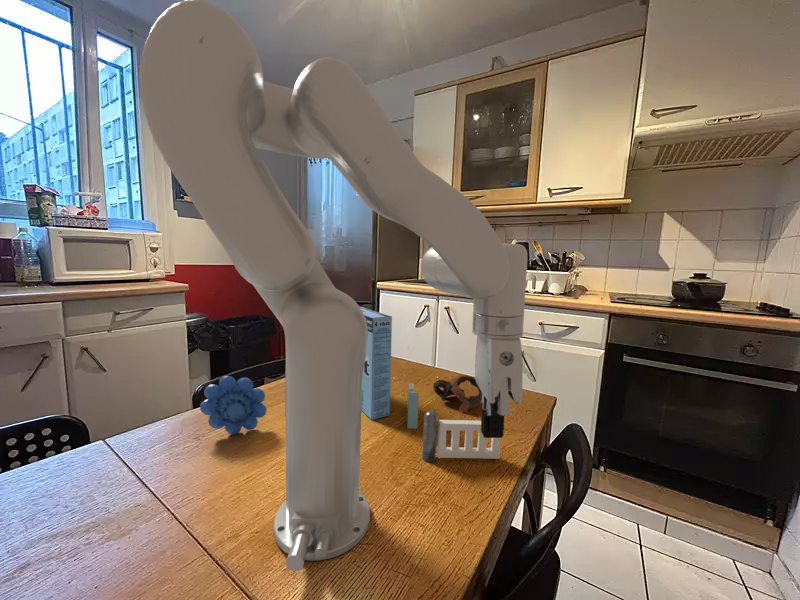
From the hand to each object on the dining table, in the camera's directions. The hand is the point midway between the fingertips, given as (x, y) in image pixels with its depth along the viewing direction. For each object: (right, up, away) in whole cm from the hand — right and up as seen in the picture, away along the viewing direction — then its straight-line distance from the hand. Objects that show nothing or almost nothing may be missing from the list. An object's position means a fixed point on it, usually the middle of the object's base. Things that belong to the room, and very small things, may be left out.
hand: (491, 434), depth 55 cm
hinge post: (-10, -7, +6) cm, 13 cm away
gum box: (-24, -3, +29) cm, 38 cm away
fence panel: (-12, -4, +22) cm, 26 cm away
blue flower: (-47, -5, +11) cm, 48 cm away
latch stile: (-12, -5, +17) cm, 22 cm away
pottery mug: (-1, -4, +29) cm, 30 cm away
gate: (-3, -7, +6) cm, 10 cm away
